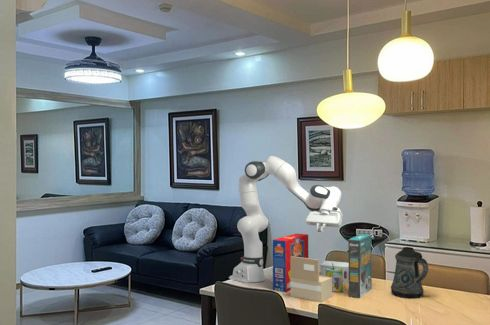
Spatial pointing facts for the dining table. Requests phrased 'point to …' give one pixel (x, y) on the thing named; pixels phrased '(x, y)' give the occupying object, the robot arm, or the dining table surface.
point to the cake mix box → (359, 265)
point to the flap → (305, 268)
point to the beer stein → (408, 274)
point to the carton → (312, 288)
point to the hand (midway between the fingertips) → (319, 231)
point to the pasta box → (287, 258)
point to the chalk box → (335, 278)
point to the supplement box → (336, 265)
